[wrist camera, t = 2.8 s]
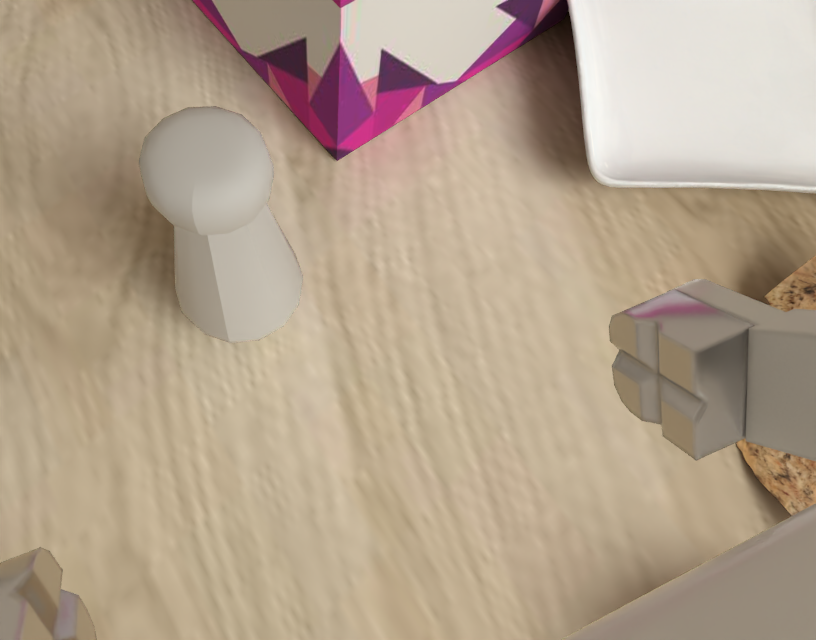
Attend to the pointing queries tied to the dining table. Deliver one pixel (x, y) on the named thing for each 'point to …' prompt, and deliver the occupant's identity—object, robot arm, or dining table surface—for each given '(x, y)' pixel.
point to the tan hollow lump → (776, 470)
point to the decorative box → (372, 54)
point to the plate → (698, 92)
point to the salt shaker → (221, 223)
